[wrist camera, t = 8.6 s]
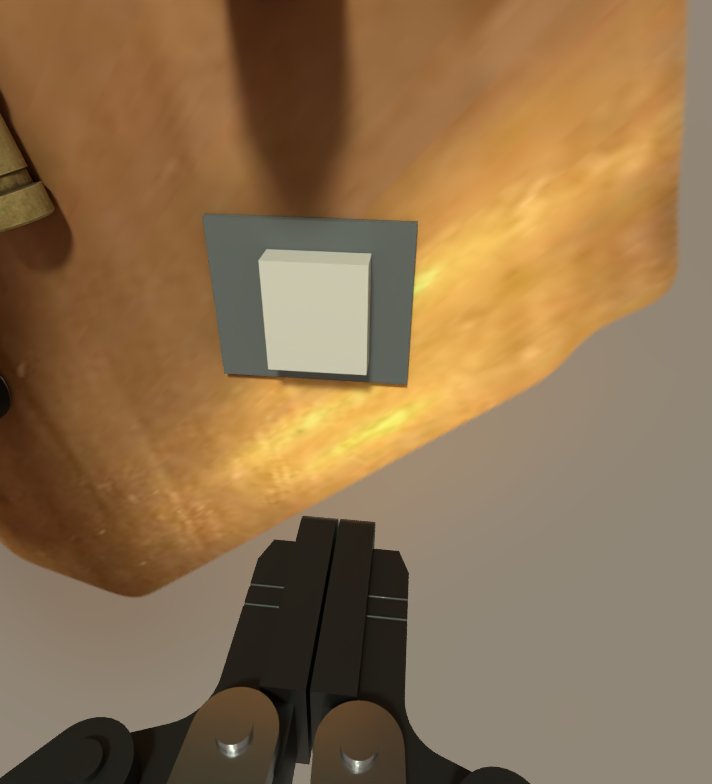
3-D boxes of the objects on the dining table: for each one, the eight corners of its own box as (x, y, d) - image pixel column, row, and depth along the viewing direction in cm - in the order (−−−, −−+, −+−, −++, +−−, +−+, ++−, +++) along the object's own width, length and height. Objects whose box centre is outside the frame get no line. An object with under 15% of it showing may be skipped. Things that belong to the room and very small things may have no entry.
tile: (268, 369, 40) (366, 375, 40) (258, 260, 36) (368, 265, 35) (275, 353, 42) (369, 359, 42) (266, 248, 38) (371, 253, 37)
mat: (226, 369, 44) (224, 373, 44) (205, 213, 38) (202, 216, 37) (407, 380, 43) (406, 384, 43) (417, 221, 37) (417, 224, 36)
